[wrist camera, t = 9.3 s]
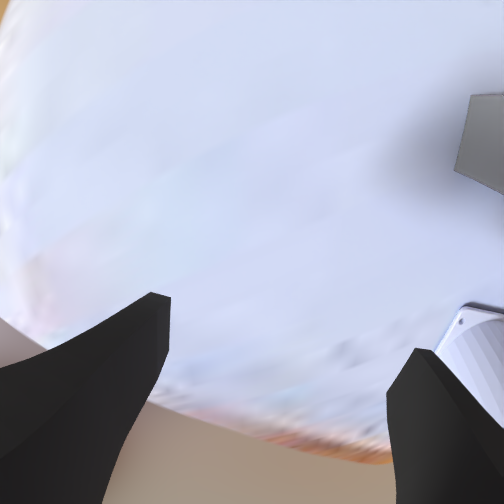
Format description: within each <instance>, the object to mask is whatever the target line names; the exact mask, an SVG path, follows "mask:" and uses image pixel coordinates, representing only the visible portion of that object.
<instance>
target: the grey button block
mask: <svg viewBox="0 0 504 504" xmlns="http://www.w3.org/2000/svg"><path fill="white" fill-rule="evenodd" d="M454 171H456V172H458V173H461V174H463V175H465V176H467V177H469V178H471V179H473V180H475V181H477V182H479V183H482V184H484V185H486V186H487V187H489V188H491V189H493V190H495V191H497V192H499V193H501V194H503V195H504V95H471V97H470V102H469V108H468V113H467V118H466V123H465V127H464V132H463V136H462V140H461V145H460V149H459V153H458V156H457V160H456V164H455V168H454Z"/></svg>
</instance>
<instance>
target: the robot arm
mask: <svg viewBox="0 0 504 504" xmlns="http://www.w3.org/2000/svg"><path fill="white" fill-rule="evenodd" d="M170 307H171V297H167V296H164V295H160V294H156V293H153V292H150V293H148V294H147V295H145V296H143V297H142V298H140V299H138V300H137V301H135V302H134V303H132V304H130V305H129V306H127V307H126V308H124V309H122V310H121V311H119V312H118V313H116V314H114V315H113V316H111V317H109V318H108V319H106V320H104V321H103V322H101V323H99V324H98V325H96V326H94V327H93V328H91V329H89V330H87V331H85V332H83V333H82V334H80V335H78V336H76V337H74V338H72V339H70V340H69V341H67V342H65V343H63V344H61V345H59V346H57V347H54V348H52V349H50V350H48V351H46V352H43V353H41V354H38V355H36V356H34V357H31V358H29V359H26V360H24V361H21V362H17V363H15V364H11V365H8V366H5V367H2V368H0V504H102V501H103V498H104V495H105V492H106V489H107V486H108V483H109V480H110V477H111V474H112V471H113V469H114V466H115V463H116V461H117V458H118V455H119V453H120V450H121V448H122V446H123V444H124V441H125V439H126V437H127V435H128V433H129V431H130V430H131V428H132V426H133V424H134V422H135V420H136V418H137V417H138V415H139V413H140V411H141V409H142V407H143V406H144V404H145V402H146V400H147V398H148V396H149V394H150V393H151V391H152V389H153V387H154V385H155V383H156V381H157V380H158V377H159V375H160V372H161V370H162V367H163V365H164V362H165V359H166V357H167V354H168V352H169V332H170ZM462 318H463V319H462ZM460 319H462V320H461V321H460ZM386 397H387V423H388V430H389V436H390V443H391V450H392V456H393V463H394V470H395V479H396V492H397V494H396V504H504V314H500V313H496V312H491V311H486V310H482V309H477V308H472V307H467V306H464V307H462V308H461V309H460V310H459V311H458V313H457V315H456V316H455V318H454V320H453V322H452V324H451V325H450V327H449V329H448V331H447V332H446V334H445V336H444V338H443V339H442V341H441V343H440V344H439V346H438V347H437V349H436V351H435V352H433V351H431V350H427V349H420V348H415V349H414V350H413V352H412V354H411V355H410V357H409V359H408V360H407V362H406V364H405V365H404V367H403V368H402V370H401V371H400V373H399V375H398V376H397V378H396V379H395V381H394V382H393V384H392V385H391V387H390V388H389V390H388V391H387V393H386Z"/></svg>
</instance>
